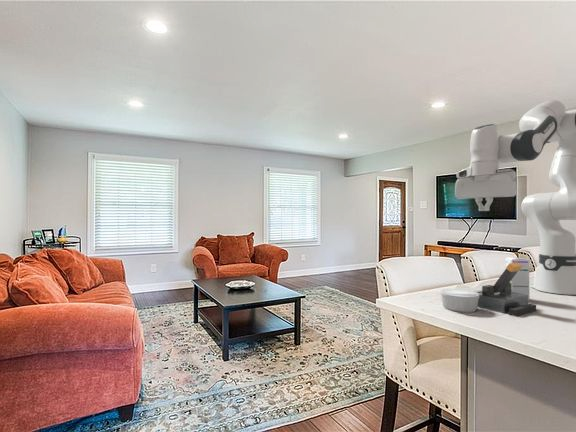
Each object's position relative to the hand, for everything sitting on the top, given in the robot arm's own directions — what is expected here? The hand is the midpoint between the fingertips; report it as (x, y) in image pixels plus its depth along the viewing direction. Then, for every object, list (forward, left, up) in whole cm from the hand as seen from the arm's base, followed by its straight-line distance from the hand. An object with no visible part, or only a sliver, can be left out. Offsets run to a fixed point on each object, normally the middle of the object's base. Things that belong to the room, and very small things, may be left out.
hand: (484, 210), depth 123 cm
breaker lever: (+4, +7, -26) cm, 27 cm away
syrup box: (-12, +5, -31) cm, 34 cm away
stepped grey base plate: (+4, +7, -31) cm, 32 cm away
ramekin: (+18, +3, -32) cm, 36 cm away
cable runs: (+6, +6, -31) cm, 32 cm away
